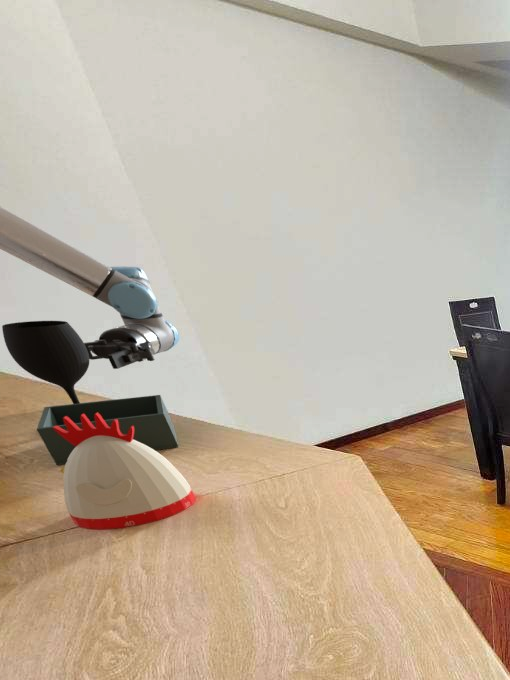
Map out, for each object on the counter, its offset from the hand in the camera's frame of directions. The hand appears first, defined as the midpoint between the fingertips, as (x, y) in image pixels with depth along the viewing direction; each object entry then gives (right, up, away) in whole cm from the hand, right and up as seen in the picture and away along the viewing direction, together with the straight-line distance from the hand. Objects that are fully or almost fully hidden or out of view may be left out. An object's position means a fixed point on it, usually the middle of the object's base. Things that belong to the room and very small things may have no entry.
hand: (71, 362), depth 120 cm
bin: (+16, -18, -6) cm, 25 cm away
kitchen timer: (+44, -33, -29) cm, 62 cm away
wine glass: (+1, -12, +3) cm, 13 cm away
